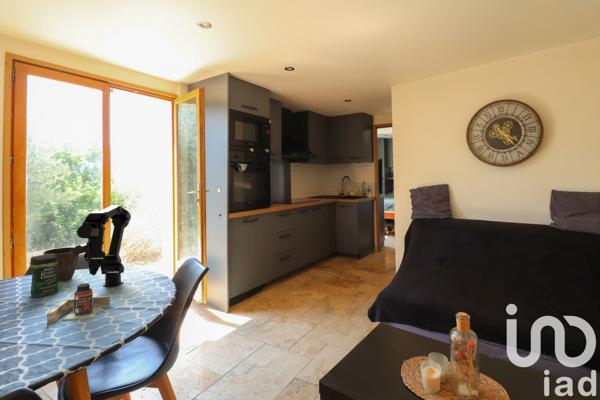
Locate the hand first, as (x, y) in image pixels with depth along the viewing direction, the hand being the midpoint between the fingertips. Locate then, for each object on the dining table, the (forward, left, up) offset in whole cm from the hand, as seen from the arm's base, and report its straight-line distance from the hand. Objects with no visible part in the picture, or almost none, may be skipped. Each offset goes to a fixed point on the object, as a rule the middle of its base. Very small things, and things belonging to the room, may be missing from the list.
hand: (92, 274), depth 128 cm
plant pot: (-17, -39, -12) cm, 44 cm away
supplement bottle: (+11, +8, -11) cm, 18 cm away
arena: (+11, +8, -12) cm, 18 cm away
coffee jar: (0, -28, -12) cm, 30 cm away
